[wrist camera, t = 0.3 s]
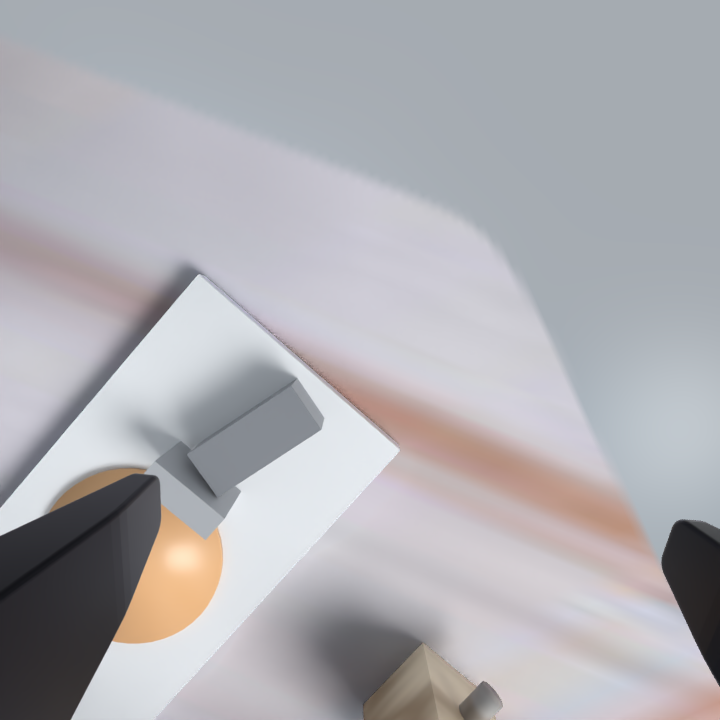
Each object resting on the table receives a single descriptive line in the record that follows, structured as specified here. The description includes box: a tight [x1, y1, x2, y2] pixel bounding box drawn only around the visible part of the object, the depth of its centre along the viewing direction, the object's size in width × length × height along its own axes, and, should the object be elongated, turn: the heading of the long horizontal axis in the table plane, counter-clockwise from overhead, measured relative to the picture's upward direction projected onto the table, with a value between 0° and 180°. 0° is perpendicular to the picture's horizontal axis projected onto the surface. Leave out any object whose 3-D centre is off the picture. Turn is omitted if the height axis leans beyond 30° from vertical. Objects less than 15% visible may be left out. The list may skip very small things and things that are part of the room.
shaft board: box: [0, 274, 400, 720], centre depth 22 cm, size 24×12×4 cm, turn 138°
